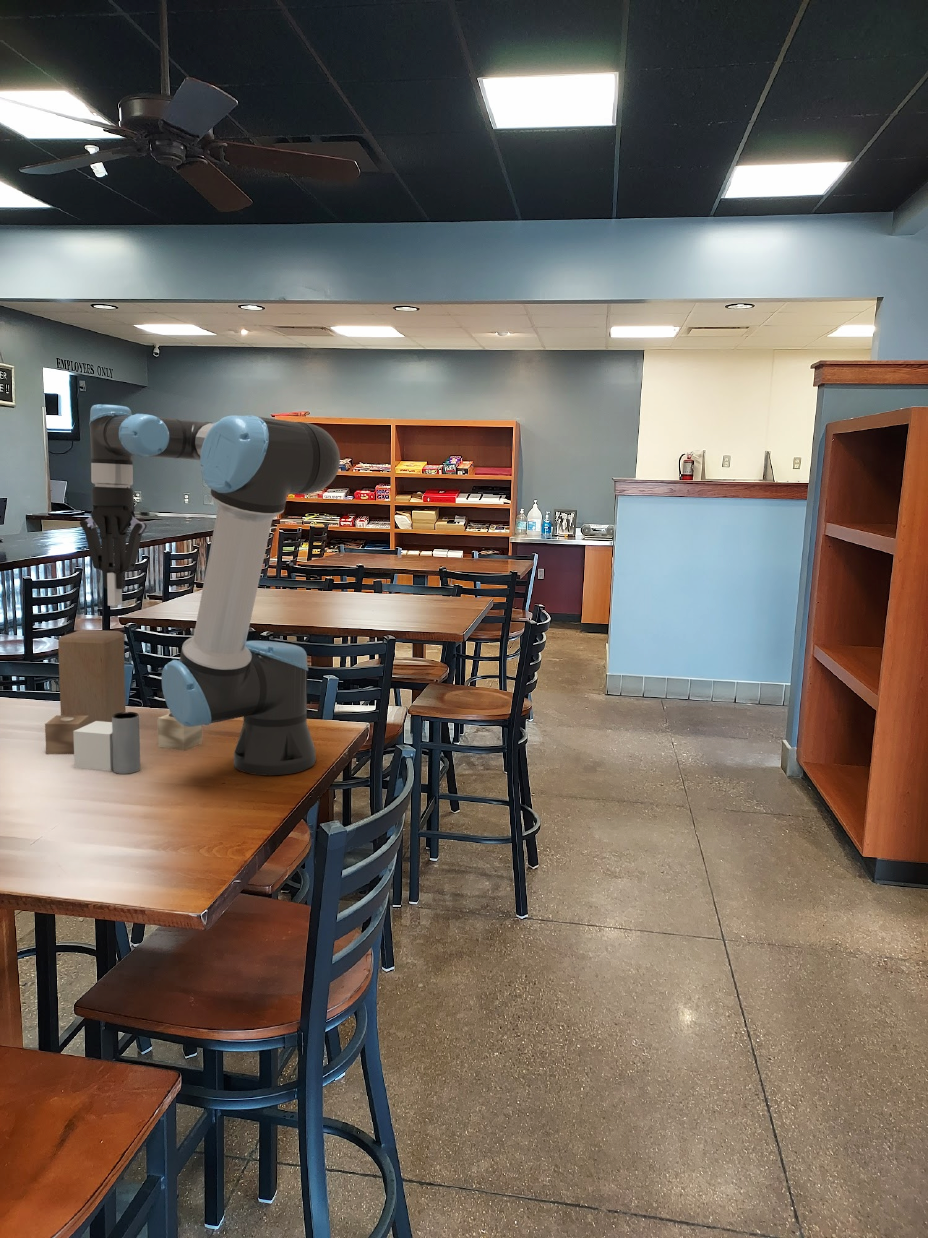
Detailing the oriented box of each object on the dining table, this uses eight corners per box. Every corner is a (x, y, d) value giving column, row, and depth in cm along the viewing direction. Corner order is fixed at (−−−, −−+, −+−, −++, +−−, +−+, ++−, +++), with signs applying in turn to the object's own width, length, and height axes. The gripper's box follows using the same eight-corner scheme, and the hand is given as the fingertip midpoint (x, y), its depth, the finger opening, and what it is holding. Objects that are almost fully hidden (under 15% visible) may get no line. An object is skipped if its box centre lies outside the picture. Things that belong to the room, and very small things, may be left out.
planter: (145, 768, 148) (144, 714, 147) (126, 776, 144) (125, 719, 143) (127, 764, 150) (125, 710, 149) (107, 771, 146) (106, 716, 145)
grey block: (131, 759, 153) (130, 723, 152) (110, 771, 146) (109, 734, 145) (97, 756, 154) (96, 721, 153) (74, 768, 147) (73, 731, 146)
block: (107, 733, 168) (104, 638, 165) (59, 731, 168) (55, 636, 165) (127, 720, 178) (125, 630, 175) (82, 718, 178) (79, 628, 175)
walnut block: (89, 744, 161) (88, 714, 160) (79, 754, 155) (78, 723, 154) (57, 744, 160) (56, 714, 159) (46, 754, 154) (44, 723, 153)
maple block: (202, 742, 165) (202, 713, 164) (183, 751, 159) (183, 720, 158) (177, 739, 167) (176, 709, 166) (158, 747, 161) (157, 717, 160)
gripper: (153, 487, 163) (154, 604, 166) (91, 484, 164) (94, 600, 168) (134, 487, 155) (136, 609, 159) (70, 484, 157) (73, 605, 160)
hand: (114, 604), depth 163 cm, fingers closed
